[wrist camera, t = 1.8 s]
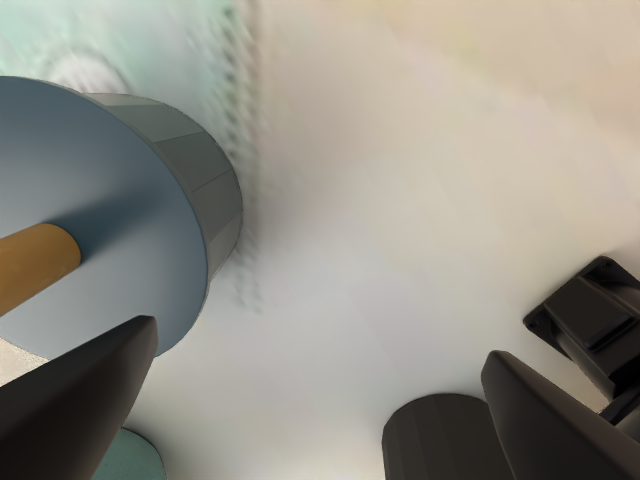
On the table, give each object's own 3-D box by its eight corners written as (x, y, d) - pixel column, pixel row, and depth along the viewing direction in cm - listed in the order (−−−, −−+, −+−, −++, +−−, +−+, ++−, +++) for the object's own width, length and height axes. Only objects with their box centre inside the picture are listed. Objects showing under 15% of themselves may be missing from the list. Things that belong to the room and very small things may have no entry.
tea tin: (279, 180, 20) (249, 217, 14) (190, 312, 24) (135, 388, 18) (91, 47, 18) (-50, 18, 12) (29, 218, 22) (-99, 267, 16)
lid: (272, 210, 14) (211, 304, 8) (147, 391, 19) (43, 546, 12) (-45, -5, 12) (-525, -137, 5) (-98, 263, 16) (-387, 370, 10)
